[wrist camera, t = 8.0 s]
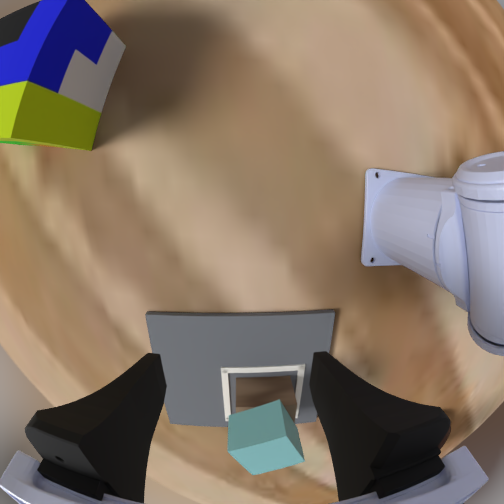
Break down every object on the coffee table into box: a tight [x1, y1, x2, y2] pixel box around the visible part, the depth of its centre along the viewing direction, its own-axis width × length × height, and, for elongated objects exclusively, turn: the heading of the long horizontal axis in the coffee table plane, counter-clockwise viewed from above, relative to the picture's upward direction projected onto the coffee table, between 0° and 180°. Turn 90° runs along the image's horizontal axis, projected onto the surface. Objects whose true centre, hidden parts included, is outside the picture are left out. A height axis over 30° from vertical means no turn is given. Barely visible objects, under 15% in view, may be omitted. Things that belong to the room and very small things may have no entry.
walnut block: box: [236, 376, 297, 423], centre depth 22 cm, size 5×5×4 cm
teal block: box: [228, 399, 305, 475], centre depth 18 cm, size 4×4×4 cm
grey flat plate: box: [145, 310, 335, 427], centre depth 24 cm, size 16×14×1 cm
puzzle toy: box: [0, 0, 126, 151], centre depth 12 cm, size 10×10×10 cm
